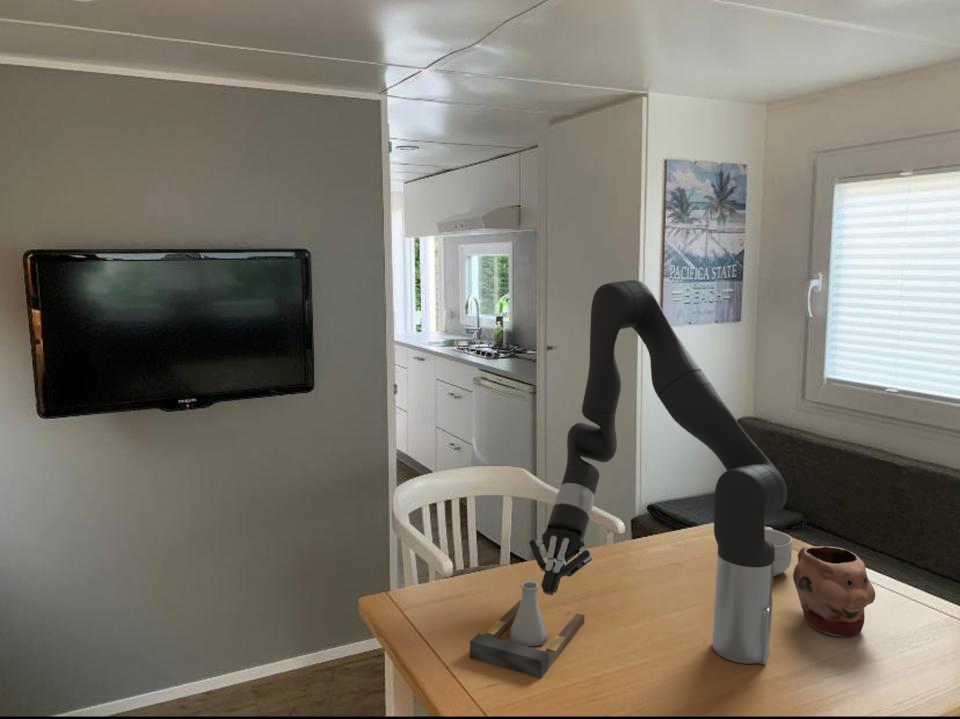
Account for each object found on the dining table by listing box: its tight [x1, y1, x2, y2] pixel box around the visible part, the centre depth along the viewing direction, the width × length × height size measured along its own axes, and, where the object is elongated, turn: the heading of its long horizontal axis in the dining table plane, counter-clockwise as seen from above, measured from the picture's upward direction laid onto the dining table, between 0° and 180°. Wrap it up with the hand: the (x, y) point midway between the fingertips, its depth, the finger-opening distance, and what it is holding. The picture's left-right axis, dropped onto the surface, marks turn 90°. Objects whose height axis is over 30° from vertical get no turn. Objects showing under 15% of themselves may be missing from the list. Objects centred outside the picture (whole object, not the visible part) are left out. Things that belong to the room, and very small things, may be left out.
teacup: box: [765, 526, 793, 577], centre depth 164 cm, size 14×11×8 cm
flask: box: [508, 580, 550, 647], centre depth 133 cm, size 7×7×10 cm
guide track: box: [469, 599, 585, 679], centre depth 132 cm, size 13×21×3 cm, turn 153°
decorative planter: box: [792, 545, 876, 637], centre depth 140 cm, size 20×12×14 cm, turn 14°
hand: (547, 593), depth 139 cm, fingers closed
